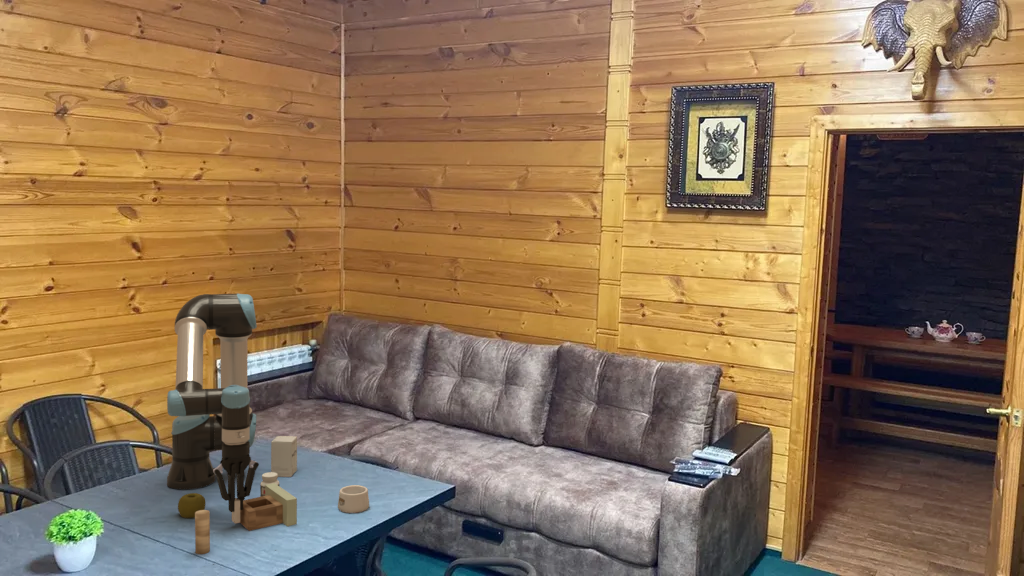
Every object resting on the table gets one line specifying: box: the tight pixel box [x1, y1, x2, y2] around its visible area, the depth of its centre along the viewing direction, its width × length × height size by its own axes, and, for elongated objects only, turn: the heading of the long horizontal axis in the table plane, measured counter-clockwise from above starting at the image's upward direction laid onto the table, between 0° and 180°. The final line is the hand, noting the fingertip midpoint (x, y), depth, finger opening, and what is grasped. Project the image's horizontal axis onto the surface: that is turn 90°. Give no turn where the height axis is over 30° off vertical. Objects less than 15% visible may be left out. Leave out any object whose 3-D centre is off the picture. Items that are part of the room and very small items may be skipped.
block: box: [239, 495, 283, 532], centre depth 233 cm, size 10×10×6 cm
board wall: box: [265, 483, 298, 527], centre depth 230 cm, size 16×28×9 cm, turn 129°
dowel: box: [194, 509, 211, 555], centre depth 212 cm, size 4×4×12 cm
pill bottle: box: [259, 471, 280, 497], centre depth 250 cm, size 6×6×10 cm
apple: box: [177, 492, 207, 519], centre depth 238 cm, size 8×8×7 cm
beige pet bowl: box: [337, 484, 370, 514], centre depth 250 cm, size 12×10×6 cm
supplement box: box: [270, 435, 298, 478], centre depth 280 cm, size 7×7×13 cm
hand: (235, 521), depth 229 cm, fingers closed
